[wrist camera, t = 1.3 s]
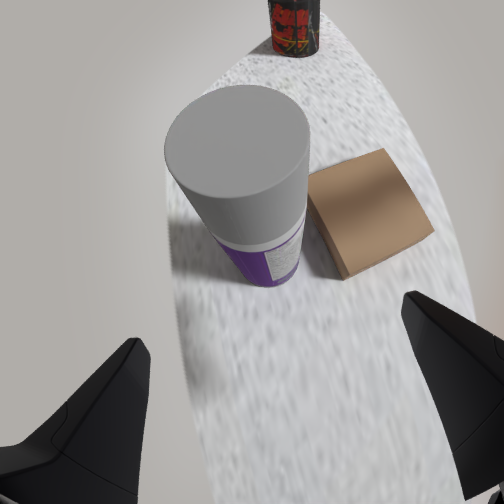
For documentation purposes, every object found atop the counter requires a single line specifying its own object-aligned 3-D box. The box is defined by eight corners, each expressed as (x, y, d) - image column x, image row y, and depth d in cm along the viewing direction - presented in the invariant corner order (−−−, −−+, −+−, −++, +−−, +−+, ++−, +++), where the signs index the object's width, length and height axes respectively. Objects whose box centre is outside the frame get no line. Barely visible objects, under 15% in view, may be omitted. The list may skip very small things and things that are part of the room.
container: (226, 259, 23) (134, 147, 8) (267, 217, 23) (237, 66, 9) (269, 300, 21) (231, 238, 7) (311, 256, 22) (346, 127, 8)
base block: (421, 240, 21) (434, 230, 19) (343, 280, 21) (350, 274, 19) (376, 163, 23) (383, 148, 21) (299, 193, 23) (300, 178, 21)
